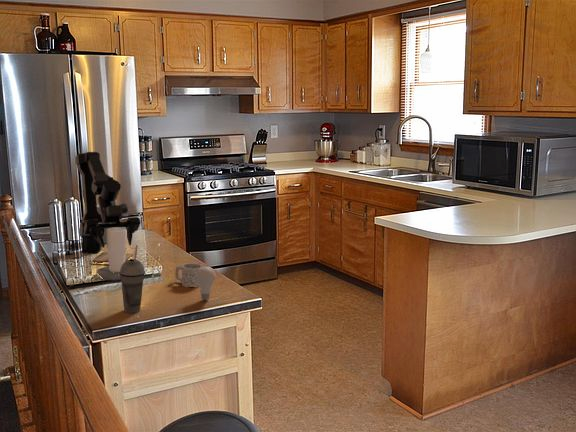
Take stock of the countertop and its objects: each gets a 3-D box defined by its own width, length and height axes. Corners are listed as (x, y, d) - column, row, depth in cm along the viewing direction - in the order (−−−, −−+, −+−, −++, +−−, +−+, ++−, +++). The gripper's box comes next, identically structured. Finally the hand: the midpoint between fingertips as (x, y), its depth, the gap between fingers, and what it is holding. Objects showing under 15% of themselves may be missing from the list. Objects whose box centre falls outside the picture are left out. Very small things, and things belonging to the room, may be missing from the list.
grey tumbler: (131, 270, 209) (131, 229, 206) (116, 274, 203) (116, 232, 201) (117, 267, 213) (117, 226, 210) (102, 271, 207) (102, 229, 204)
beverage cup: (122, 306, 178) (122, 241, 175) (146, 306, 179) (147, 242, 175) (117, 314, 171) (117, 247, 167) (142, 315, 172) (143, 248, 168)
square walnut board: (92, 264, 220) (92, 260, 219) (102, 255, 232) (102, 252, 231) (125, 265, 220) (125, 261, 220) (132, 257, 232) (132, 253, 231)
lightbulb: (218, 299, 189) (219, 265, 187) (209, 304, 184) (210, 270, 181) (201, 296, 191) (201, 263, 189) (191, 301, 185) (192, 267, 183)
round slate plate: (91, 279, 202) (91, 275, 201) (103, 269, 214) (103, 265, 214) (130, 281, 202) (130, 277, 202) (139, 270, 215) (139, 266, 214)
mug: (205, 284, 204) (205, 265, 203) (194, 289, 198) (194, 270, 197) (181, 279, 208) (181, 260, 207) (169, 283, 202) (170, 265, 201)
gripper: (85, 196, 201) (93, 235, 194) (139, 194, 211) (149, 231, 204) (80, 215, 209) (88, 252, 202) (132, 212, 219) (141, 248, 212)
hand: (117, 245), depth 205 cm, fingers open, 9 cm apart
